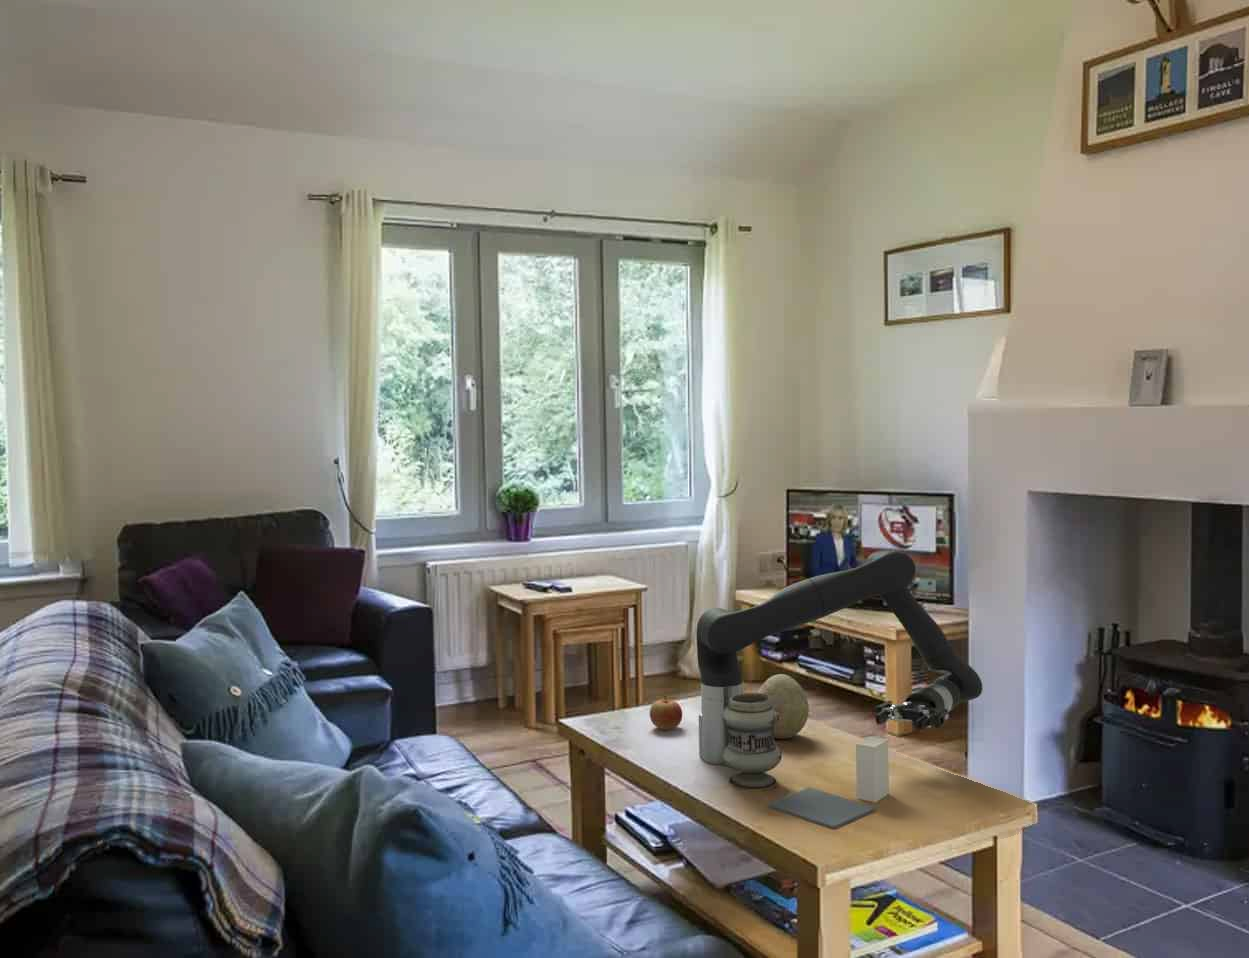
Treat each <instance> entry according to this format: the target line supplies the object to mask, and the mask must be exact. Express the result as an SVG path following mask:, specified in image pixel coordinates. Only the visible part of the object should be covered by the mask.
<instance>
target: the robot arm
mask: <svg viewBox="0 0 1249 958" xmlns="http://www.w3.org/2000/svg"><path fill="white" fill-rule="evenodd" d="M916 567H917V566H916V563H915V561H914V560H913V558H911V556H910V555H909V554H907V553H904V552H903V551H900V550H880V551H875V552H873V553H870V555H869V556H868V557H866V560H865V562H864V564H862V565H859V566H857V567H854V568H850V569H847V570H840V571H836V572H834V571H833V572H830V573H825V574H821V575H815V576H813V577H810V578H806V579H803V580H801V581H800V580H799V581H797V582H795V583H792V584H790V585H788V586H786V587H784V588H782V589H781V590H780V591H777V593H775V594H774V595H772V596H771V597H769V598H768V599H767V600H765V601H764V602H762V603H760V604H758V605H755V606H753V607H748V608H745V609H742V610H738V611H734V612H733V611H732V612H730V611H728V610H727V609H724V608H720V607H713V608H710V609H707V610H706V611H704V612H703V613H702V614H701V616H700V617H699V618H698V621H697V624H696V651H697V653H696V654H697V655H696V656H697V666H698V671H699V673H700V689H701V691H700V693H701V694H700V695H701V713H699V714H698V751H699V753H698V754H699V755H698V756H699V758H702V759H703V761H704V762H707V763H710V764H715V765H727V764H726V763H725V761H724V759H723V752H724V750H725V748H726V747H727V746H728V742H729V741H728V726H727V725H726V724H725V723H724V721H723V719H722V713H723V711H724V710H725V708H726V707H728V706H729V703H730V702H729V701H730V697H731V696H733V695H736V694H740V693H744V685H743V683H744V681H743V680H744V678H743V677H744V676H743V670H742V667H741V664H740V662H739V658H738V652H739V651H741V650H743V649H745V648H747V647H749V646H751V645H752V644H755V643H757V642H759V641H761V640H763V639H766V638H767V637H770V636H773V635H775V634H778V633H782V632H785V631H788V630H791V629H794V628H797V627H800V626H802V625H803V626H804V625H805V624H810V623H812V622H815V621H816V620H820V619H823V618H825V617H828V616H829V615H833V614H835V613H836V612H840V611H841V610H844V609H846V608H849V607H851V606H852V605H855V604H857V603H858V602H861V601H863V600H867V599H870V598H873V597H877V596H879V597H880V598H881V600H882V601H883V602H884V603H885V604H886V605H887V606H888V608H889V609H890V611H892V613H893V615H894V616H895V617H896V618H897V620H898V621H899V623H900V624H901V625H902V627H903V628H904V631H906V633H907V635H908V636H909V638H910V640H911V641H912V643H913V645H914V646H915V649H917V651H918V653H919V655H920V656H921V657H922V659H923V661H924V663H925V665H926V666H927V668H928V669H930V670H931V671H947V672H949V673H947V674H944V675H941V676H939V677H937V678H935V679H934V680H933V682H931V683H930V684H927V685H924V686H923V687H920V688H919V689H917V690H915V691H913V692H911V693H910V694H908V696H907V697H906V699H905V701H904V702H903V703H897V704H896V703H895V704H893V701H892V700H888V701H885V702H883V703H881V704H877V705H876V706H875V722H876V724H877V725H879V726H881V725H883V724H884V723H886V722H888V721H893V722H897V723H898V722H899V723H900V722H912V723H913V724H914V725H915V731H917V732H921V731H922V730H924V729H926V728H931V727H932V726H934V728H936V729H940V728H942V727H943V726H945V725H946V724H947V723H948V722H949V712H951V711H953V710H954V709H955V708H956V707H958V705H959V704H962V703H965V702H969V701H972V700H974V699H977V698H979V697H980V696H981V694H982V693H983V683H982V678H980V676H979V674H978V673H977V671H975V669H974V668H973V667H972V666H971V665H969V664H968V663H967V662H966V661H965V660H964V658H962V657H961V655H959V654H958V653H957V652H956V651H955V650H954V648H953V646H952V645H951V643H950V641H949V640H948V638H947V635H946V634H945V633H944V631H943V630H942V628H941V627H940V626H939V624H938V623H937V622H936V621H935V620H934V618H932V617H931V615H930V614H929V613H928V612H927V611H926V610H925V609H924V608H923V606H921V605H920V603H919V602H918V601H917V600H916V598H915V597H914V595H913V594H912V593H911V591H910V590H909V588H908V586H909V585H910V584H911V583H912V582H913V580H914V578H915V576H916ZM889 715H890V716H889ZM898 715H899V716H898Z"/></svg>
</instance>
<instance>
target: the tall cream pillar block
mask: <svg viewBox="0 0 1249 958" xmlns="http://www.w3.org/2000/svg"><path fill="white" fill-rule="evenodd" d="M855 759H856V760H855V764H856V765H855V767H856V769H855V770H856V771H855V773H856V774H855V775H856V776H855V777H856V799H857V800H862V801H867V802H872V803H877V802H879V801H880V800H882V799H883V798H885V797H887V796H888V795H889V794H890V785H889V784H890V783H889V782H890V779H889V778H890V777H889V772H890V771H889V765H890V764H889V761H890V760H889V739H888V738H883V737H878V736H871V735H869V736H867V737H865V738H863V739H862V740H860V741H858V742H856V743H855Z"/></svg>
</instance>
